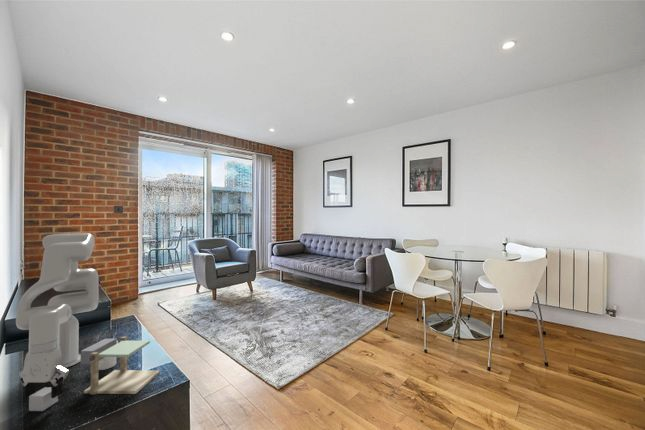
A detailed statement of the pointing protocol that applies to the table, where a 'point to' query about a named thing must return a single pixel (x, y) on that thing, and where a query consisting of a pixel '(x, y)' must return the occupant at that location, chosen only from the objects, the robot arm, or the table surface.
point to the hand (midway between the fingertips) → (43, 395)
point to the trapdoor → (112, 349)
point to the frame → (118, 378)
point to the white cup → (107, 362)
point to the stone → (41, 400)
